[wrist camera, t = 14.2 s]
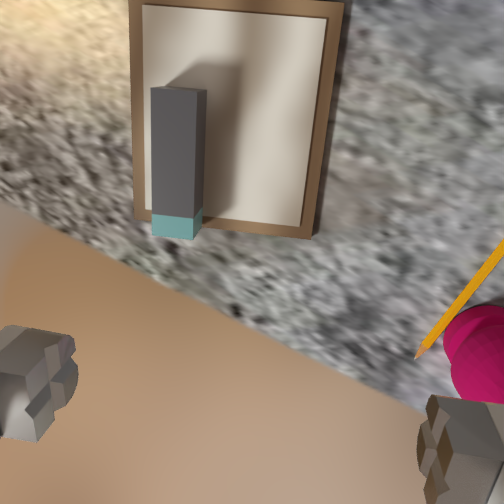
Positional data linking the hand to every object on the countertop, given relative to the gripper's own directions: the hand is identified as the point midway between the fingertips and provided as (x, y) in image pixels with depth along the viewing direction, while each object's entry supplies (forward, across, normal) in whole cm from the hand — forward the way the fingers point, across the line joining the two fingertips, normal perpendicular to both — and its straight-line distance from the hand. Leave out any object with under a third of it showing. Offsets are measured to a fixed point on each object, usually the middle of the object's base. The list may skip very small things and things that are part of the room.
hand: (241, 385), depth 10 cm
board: (+24, +6, -2) cm, 25 cm away
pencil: (+26, -15, +7) cm, 30 cm away
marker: (+23, +9, +1) cm, 25 cm away
